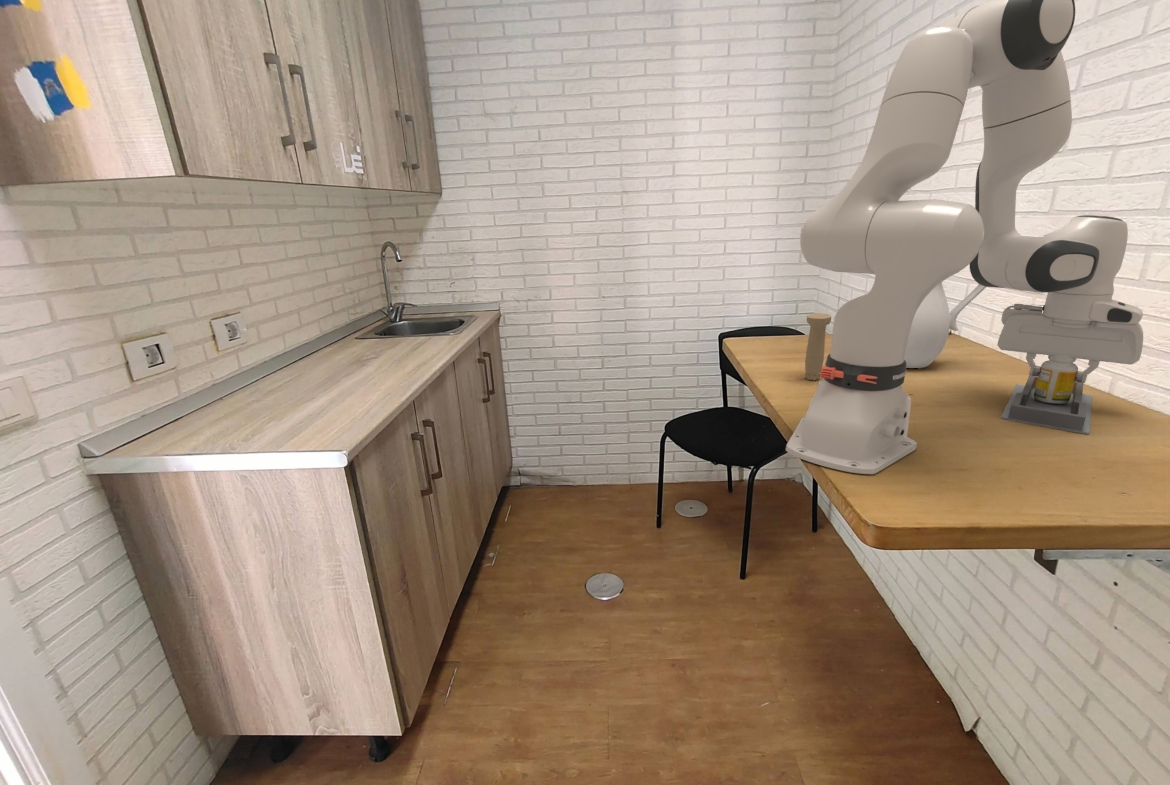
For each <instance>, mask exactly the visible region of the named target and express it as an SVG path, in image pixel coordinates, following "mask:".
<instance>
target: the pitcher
mask: <svg viewBox="0 0 1170 785" xmlns="http://www.w3.org/2000/svg"><path fill="white" fill-rule="evenodd" d="M986 288H987V287H985V286H982V285H980V284H979V283H978V285H977V286H976V287H975V288H974V289H973V290H972V291H970V293H968V295H967V296H966V297H964V299H962V300H961V301H960V302H959V303H958V304H957V305H956V306H955V307H954V308H953V309H951V311H950V309H949V304H948V301H947V297H946V293H945V290H944V285H943V283H942V282H941V283H940V284H939V285H937V286H936V287H935V288H934V289H933V290H932V291H931V292H930V293H929V294H928V295H927V296H926V298H925V299H924V300H923V301H922V303H921V305H920V306H919V308H918V310H917V311H916V314H915V316H914V319H913V322H912V325H911V329H910V333H909V337H908V342H907V346H906V352H905V357H904V360H905V361H906V368H918V369H924V368H927V367H929V366H930V365H931V364H932V363H933V362H934V361H935V360H936V359H937V358H938V356H939V355H940V354H941V353H942V351H943V350H944V347H945V346H946V344H947V341H948V338H949V333H950V330H952V331H954V332H958V331H959V328H958V326H957V317H958V316H959V314H960V313H961V312H962V311H963V310H964V309H965V308H966V307H967V306H968V305H969V304H970V303H971V302H972V301H973V300H975V299H976V297H978V296H979V295H980V294H981V293H982V292H983V291H984V290H985V289H986Z"/></svg>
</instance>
